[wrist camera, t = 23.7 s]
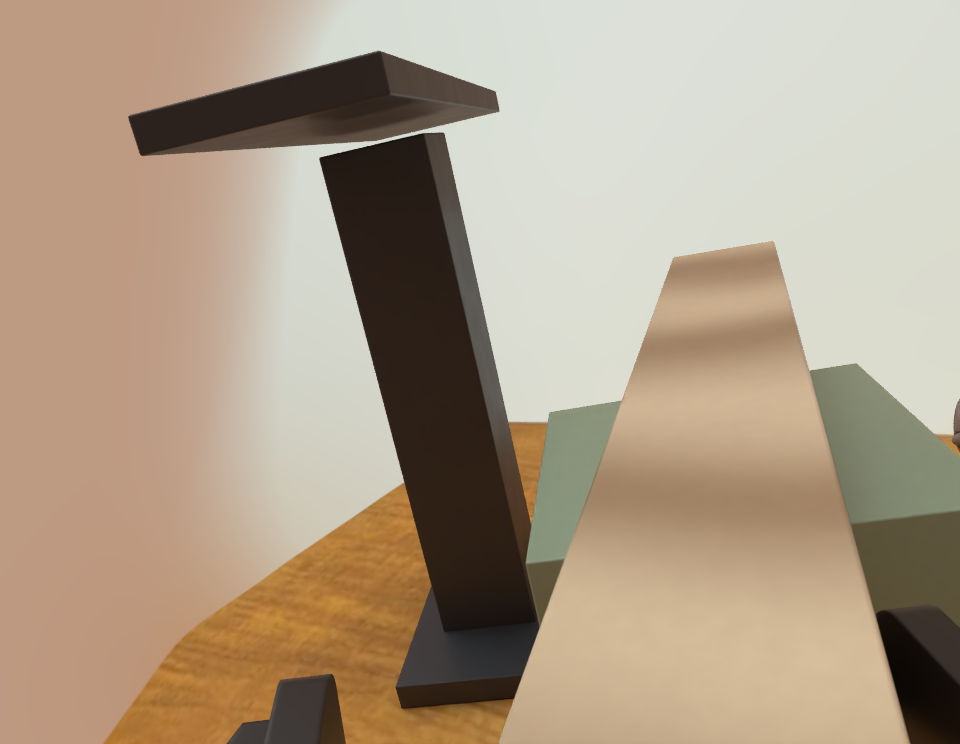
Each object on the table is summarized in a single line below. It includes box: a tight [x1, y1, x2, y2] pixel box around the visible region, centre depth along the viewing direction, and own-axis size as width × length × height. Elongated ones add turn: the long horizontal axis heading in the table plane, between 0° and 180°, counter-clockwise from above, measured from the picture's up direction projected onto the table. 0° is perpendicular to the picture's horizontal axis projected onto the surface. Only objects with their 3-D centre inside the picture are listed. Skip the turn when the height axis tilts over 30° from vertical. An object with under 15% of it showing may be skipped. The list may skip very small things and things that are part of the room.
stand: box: [128, 51, 540, 708], centre depth 49 cm, size 34×10×34 cm, turn 172°
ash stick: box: [498, 241, 911, 744], centre depth 20 cm, size 28×4×3 cm, turn 163°
